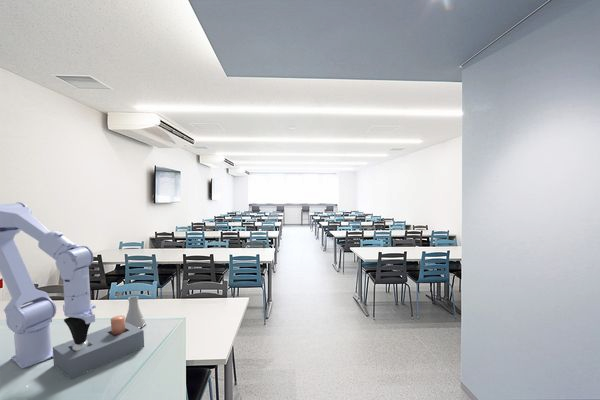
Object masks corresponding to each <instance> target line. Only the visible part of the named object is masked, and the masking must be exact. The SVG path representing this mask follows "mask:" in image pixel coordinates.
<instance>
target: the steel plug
mask: <svg viewBox="0 0 600 400" xmlns="http://www.w3.org/2000/svg"><path fill="white" fill-rule="evenodd" d="M86 347H89V346H88V340H87V339H86V342H84V343H81V344H78V345H77V344H75V342H74V343H73V344H72V350H73V351H74V352H76V351H78V350H81V349H83V348H86Z"/></svg>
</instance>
